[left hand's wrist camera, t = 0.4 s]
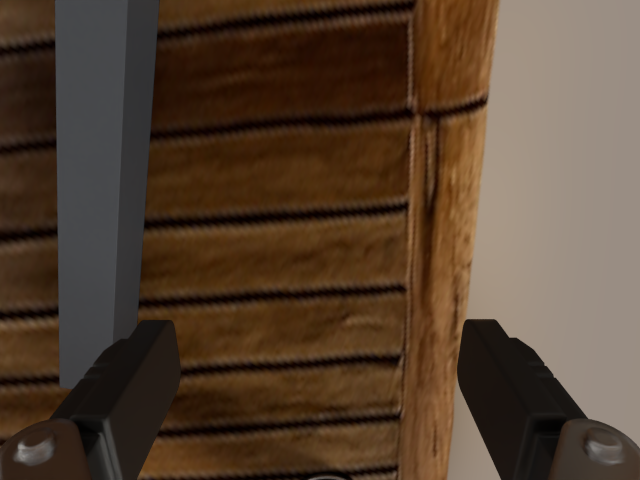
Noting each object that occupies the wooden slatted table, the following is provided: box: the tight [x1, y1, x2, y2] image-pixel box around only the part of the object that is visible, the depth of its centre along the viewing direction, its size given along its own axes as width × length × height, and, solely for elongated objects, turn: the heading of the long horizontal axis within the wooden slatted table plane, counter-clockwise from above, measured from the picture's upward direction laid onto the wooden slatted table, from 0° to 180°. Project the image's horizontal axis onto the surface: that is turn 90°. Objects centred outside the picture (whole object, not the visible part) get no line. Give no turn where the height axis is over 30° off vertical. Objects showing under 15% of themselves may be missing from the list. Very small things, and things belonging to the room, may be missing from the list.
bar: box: [55, 0, 159, 389], centre depth 30 cm, size 69×5×6 cm, turn 168°
